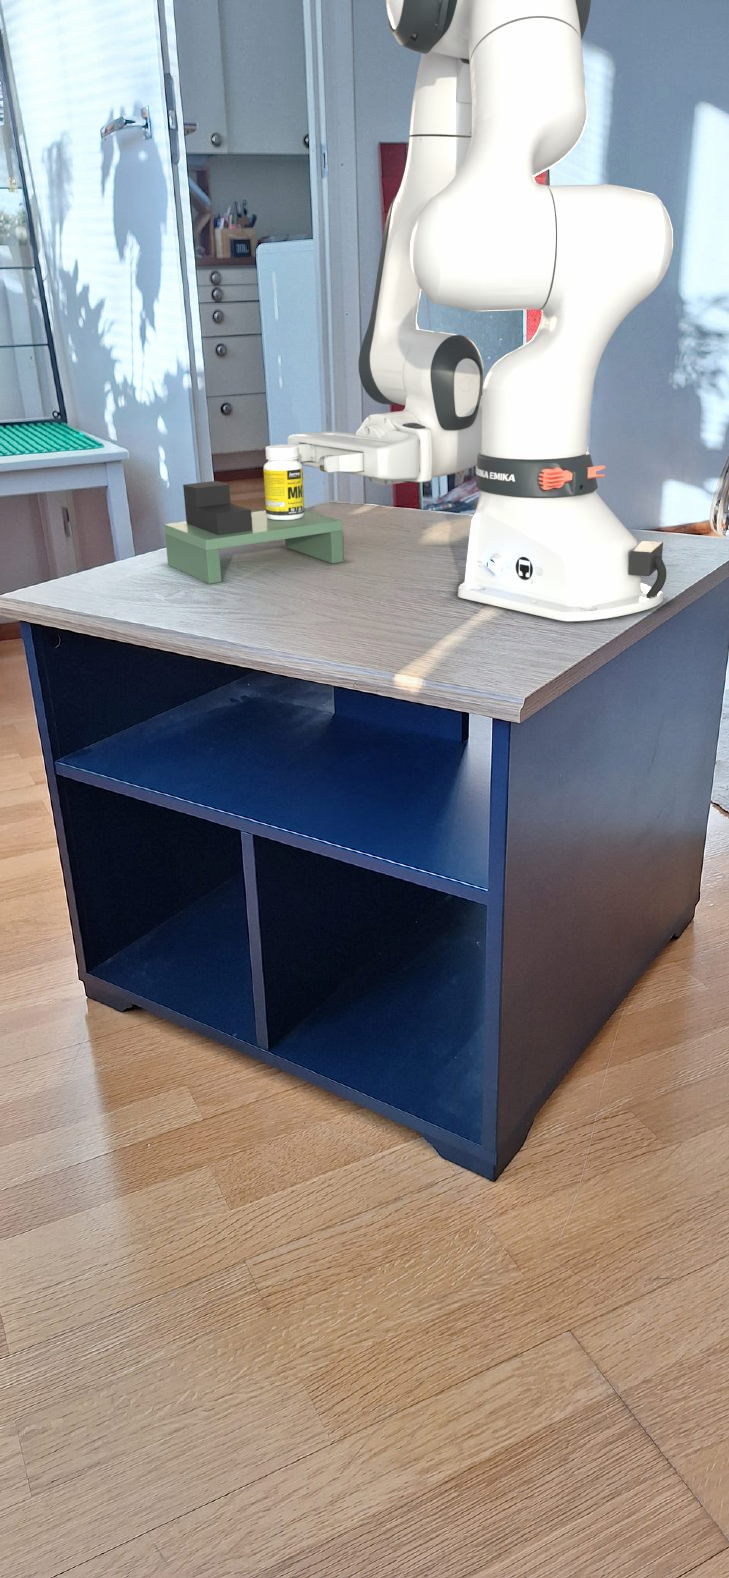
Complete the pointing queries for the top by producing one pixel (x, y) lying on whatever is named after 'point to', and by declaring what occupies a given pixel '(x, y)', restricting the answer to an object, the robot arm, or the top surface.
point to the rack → (251, 542)
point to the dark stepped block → (214, 509)
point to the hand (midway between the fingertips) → (299, 460)
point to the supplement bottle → (283, 483)
